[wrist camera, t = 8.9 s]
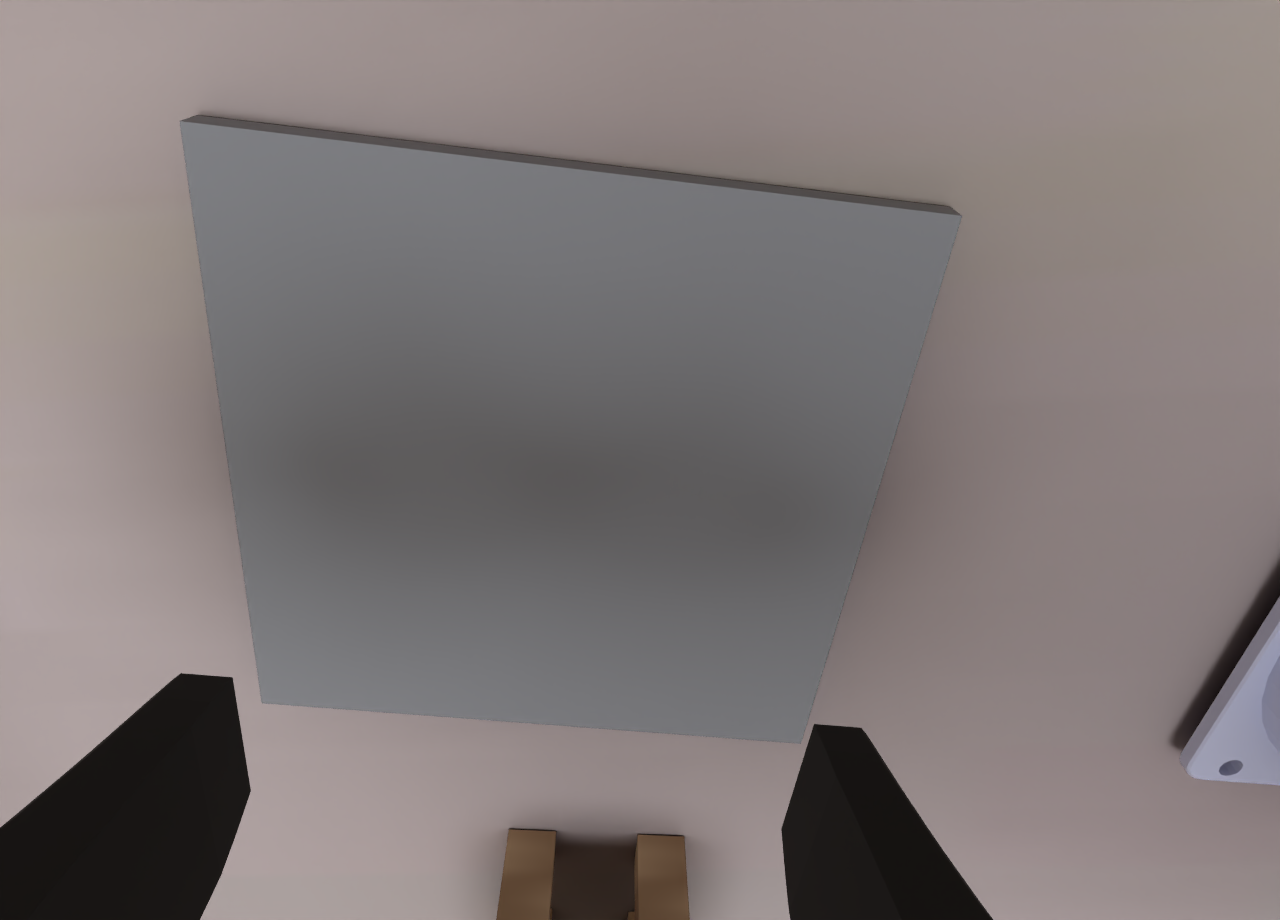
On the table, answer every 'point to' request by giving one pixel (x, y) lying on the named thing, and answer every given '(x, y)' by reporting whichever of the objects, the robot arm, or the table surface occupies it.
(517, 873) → the notched wooden block
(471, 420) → the slate mat
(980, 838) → the table surface
